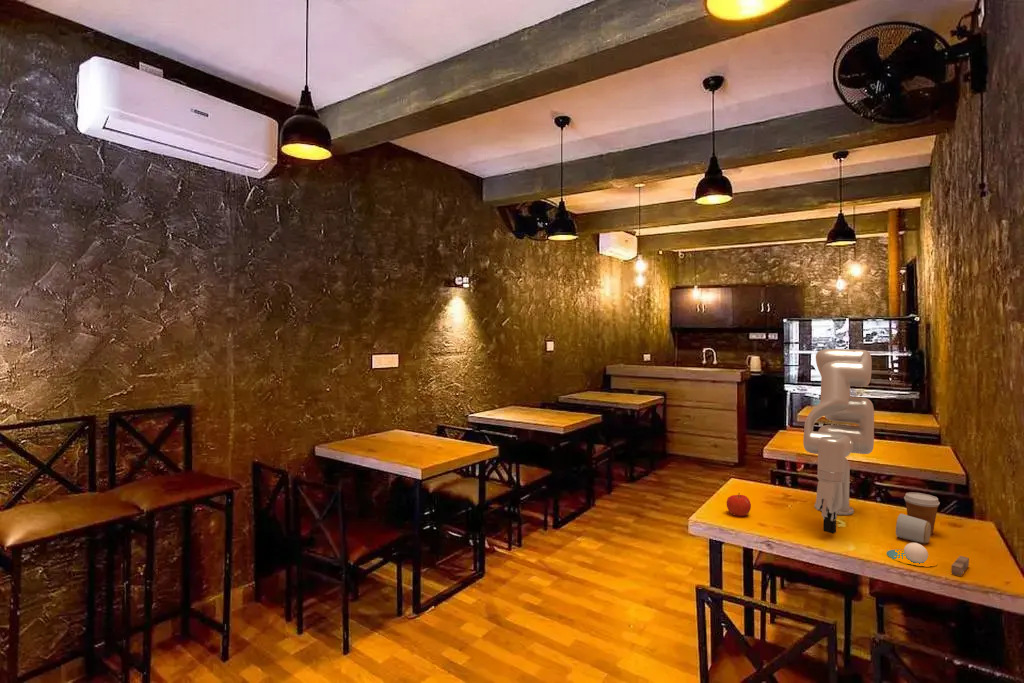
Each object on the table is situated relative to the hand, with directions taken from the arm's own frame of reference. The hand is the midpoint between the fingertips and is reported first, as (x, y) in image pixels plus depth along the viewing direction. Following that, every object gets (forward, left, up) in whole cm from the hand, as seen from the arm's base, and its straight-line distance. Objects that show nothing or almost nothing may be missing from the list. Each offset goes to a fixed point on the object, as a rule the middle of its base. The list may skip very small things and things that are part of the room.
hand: (829, 531), depth 176 cm
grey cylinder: (-19, +18, -2) cm, 26 cm away
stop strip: (-1, +33, -2) cm, 33 cm away
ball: (+2, +24, +1) cm, 24 cm away
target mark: (0, +22, -2) cm, 22 cm away
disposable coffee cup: (-28, +18, -2) cm, 33 cm away
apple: (+3, -29, -2) cm, 29 cm away
